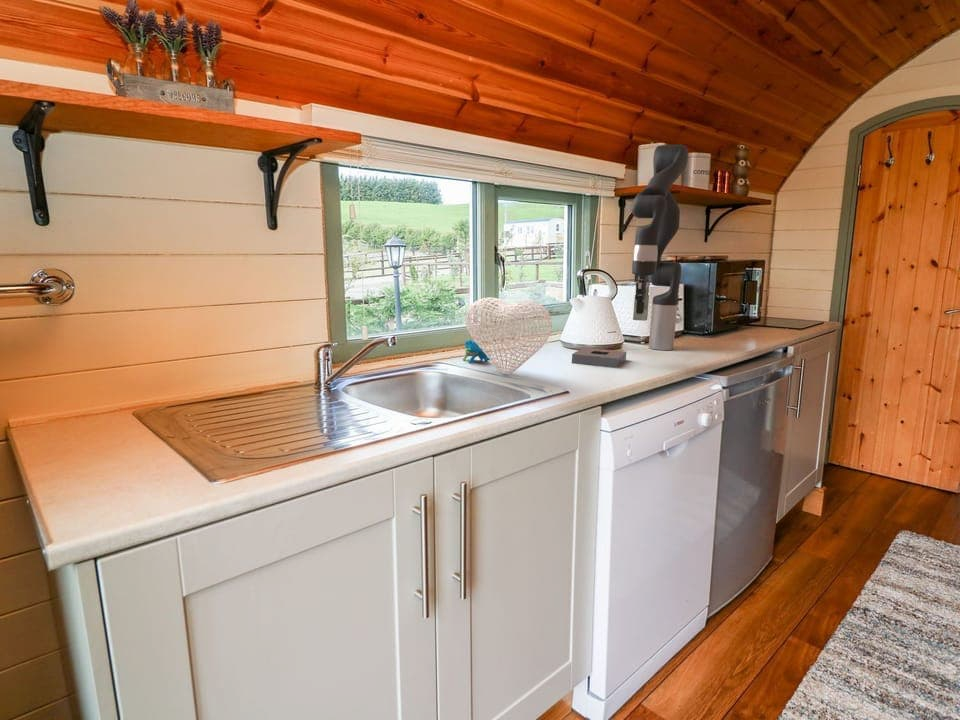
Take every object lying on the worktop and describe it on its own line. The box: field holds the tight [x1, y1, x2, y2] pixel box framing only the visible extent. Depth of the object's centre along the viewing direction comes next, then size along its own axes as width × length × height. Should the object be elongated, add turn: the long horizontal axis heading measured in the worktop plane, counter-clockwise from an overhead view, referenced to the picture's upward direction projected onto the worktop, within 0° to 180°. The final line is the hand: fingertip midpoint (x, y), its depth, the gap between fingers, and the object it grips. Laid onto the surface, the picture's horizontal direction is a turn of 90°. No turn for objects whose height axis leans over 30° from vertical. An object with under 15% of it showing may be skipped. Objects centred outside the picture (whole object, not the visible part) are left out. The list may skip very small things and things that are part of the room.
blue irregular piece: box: [462, 339, 491, 364], centre depth 189 cm, size 11×6×10 cm
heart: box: [465, 296, 553, 375], centre depth 171 cm, size 28×16×22 cm, turn 47°
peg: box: [632, 294, 650, 322], centre depth 189 cm, size 4×4×8 cm
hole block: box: [571, 347, 627, 369], centre depth 196 cm, size 15×15×3 cm
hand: (640, 312), depth 190 cm, fingers closed on peg, 4 cm apart
